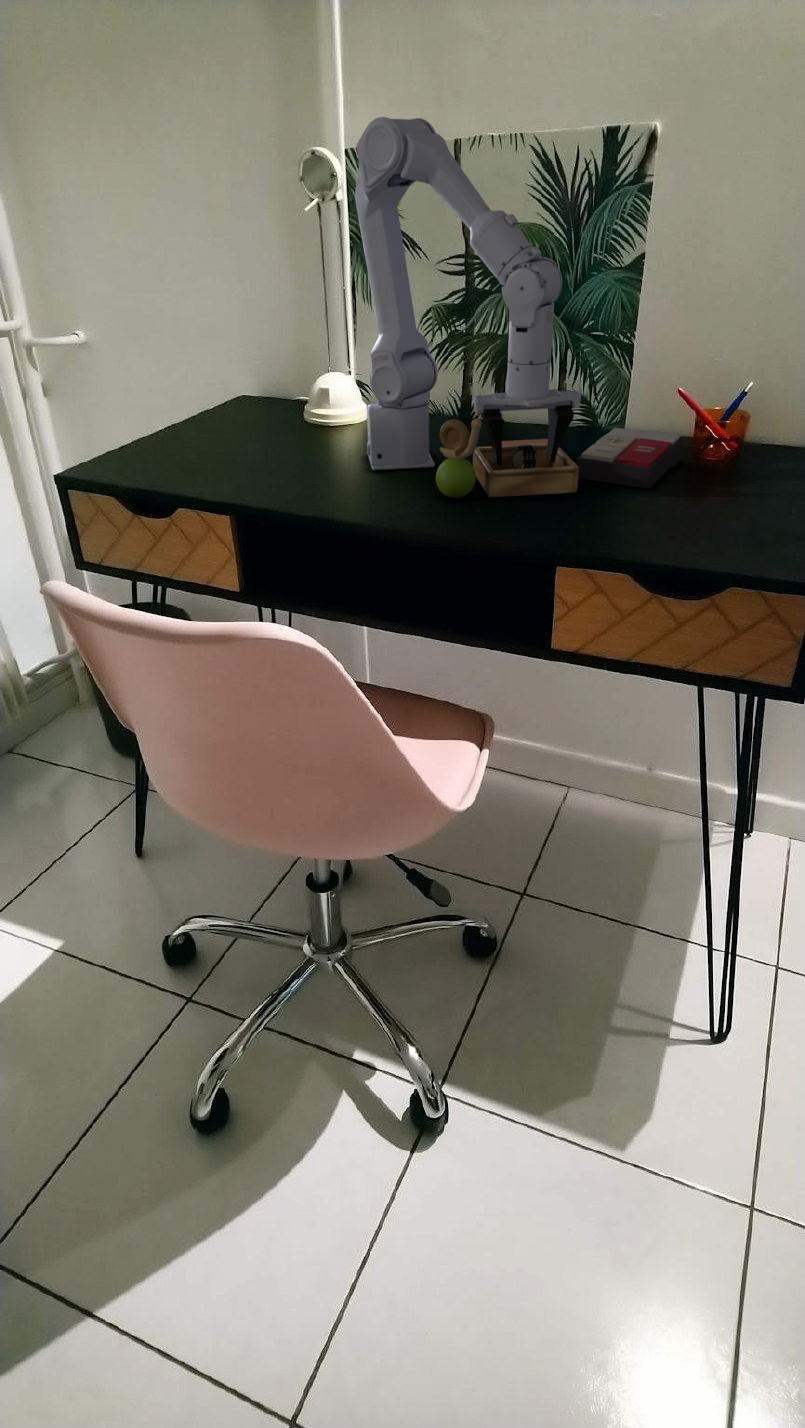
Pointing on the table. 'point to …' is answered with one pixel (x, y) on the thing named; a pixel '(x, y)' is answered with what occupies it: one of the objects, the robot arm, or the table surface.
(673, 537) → the table surface
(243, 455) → the table surface
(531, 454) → the smartwatch
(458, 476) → the snail figurine
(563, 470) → the wooden box
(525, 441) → the coaster
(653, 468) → the grey and red box
